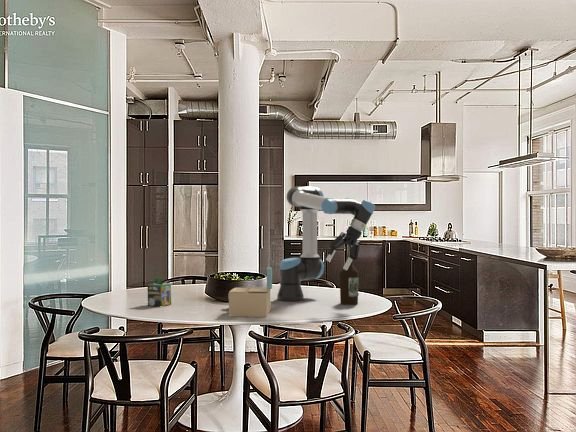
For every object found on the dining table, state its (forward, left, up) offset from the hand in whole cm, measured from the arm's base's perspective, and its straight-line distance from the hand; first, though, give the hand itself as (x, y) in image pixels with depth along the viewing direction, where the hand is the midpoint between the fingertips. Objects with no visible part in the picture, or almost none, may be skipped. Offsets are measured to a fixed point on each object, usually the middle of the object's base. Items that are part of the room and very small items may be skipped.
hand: (336, 265), depth 289 cm
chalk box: (-3, -94, -23) cm, 97 cm away
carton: (+18, -42, -22) cm, 51 cm away
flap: (+18, -37, -11) cm, 42 cm away
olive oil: (-18, +7, -23) cm, 30 cm away
